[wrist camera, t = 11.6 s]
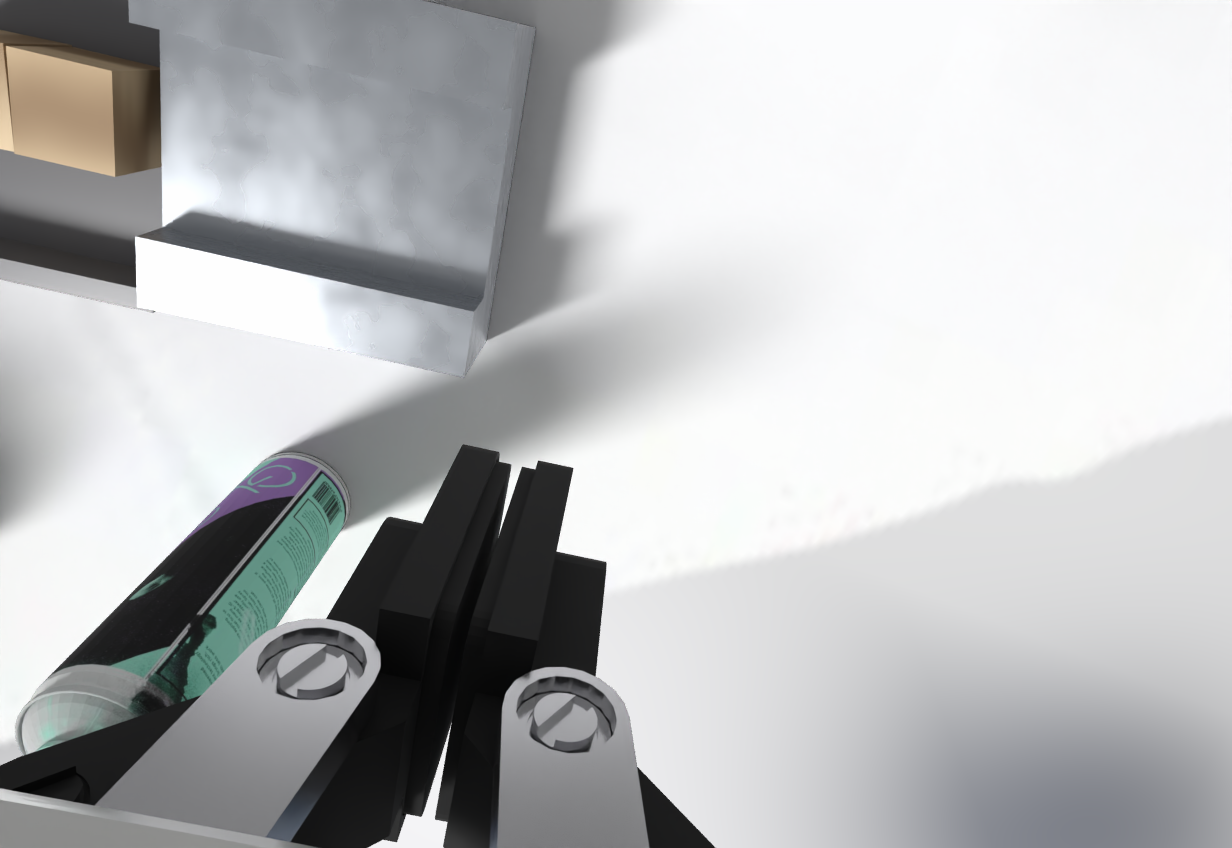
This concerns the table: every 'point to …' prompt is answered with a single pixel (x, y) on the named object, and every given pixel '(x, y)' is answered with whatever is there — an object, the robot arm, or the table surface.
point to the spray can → (196, 604)
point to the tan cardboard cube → (3, 132)
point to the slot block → (335, 171)
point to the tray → (77, 174)
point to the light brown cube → (85, 109)
